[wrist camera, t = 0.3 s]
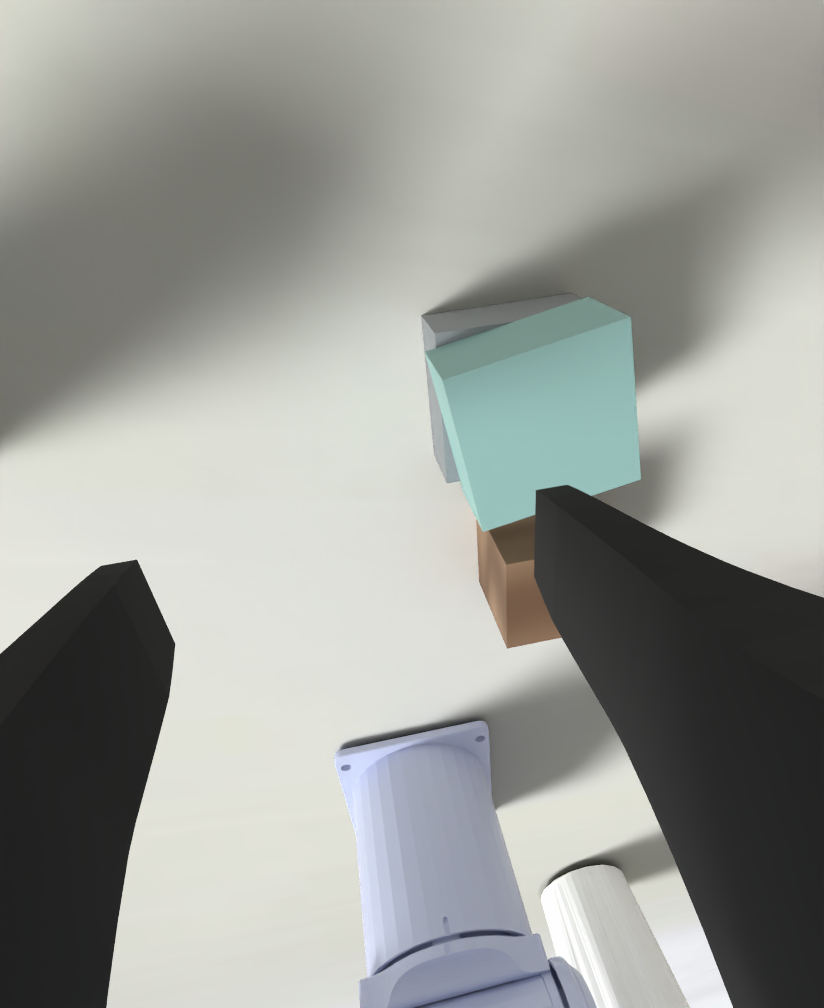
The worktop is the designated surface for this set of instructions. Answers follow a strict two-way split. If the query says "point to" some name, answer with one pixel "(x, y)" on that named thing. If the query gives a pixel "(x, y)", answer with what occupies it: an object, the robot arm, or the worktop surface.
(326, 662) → the worktop surface
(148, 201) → the worktop surface
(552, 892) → the cup
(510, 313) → the base slab
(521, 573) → the walnut cube
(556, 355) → the mid slab
